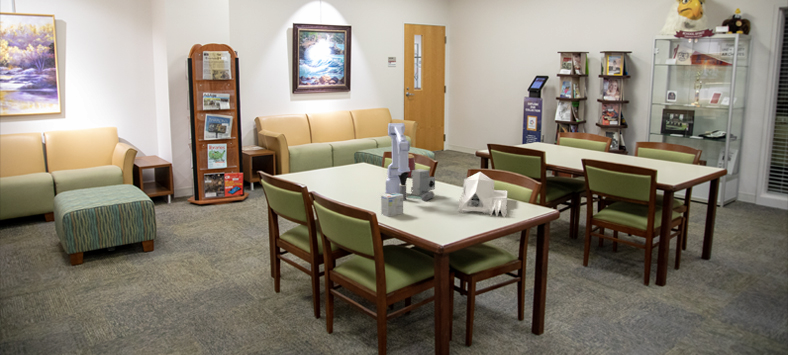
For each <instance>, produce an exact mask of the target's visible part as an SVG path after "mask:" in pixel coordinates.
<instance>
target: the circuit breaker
mask: <svg viewBox="0 0 788 355" xmlns="http://www.w3.org/2000/svg"><path fill="white" fill-rule="evenodd" d="M412 175H413V176H412ZM410 178H412V186H411V187H410V188H411V189H410V192H411V195H412V196H422V195H423V194H425V193H428V192H429V191H433V190H435V189H436V177H435V176H430V170H429V169H428V170H427V169H422V168H418V169H415V170H412V173H411V177H410Z"/></svg>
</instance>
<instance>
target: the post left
mask: <svg viewBox="0 0 788 355" xmlns="http://www.w3.org/2000/svg"><path fill="white" fill-rule="evenodd" d="M399 185H400V194H403V201H405V200H407V183H406V184H405V185H401V184H399Z"/></svg>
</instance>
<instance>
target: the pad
mask: <svg viewBox="0 0 788 355" xmlns="http://www.w3.org/2000/svg"><path fill="white" fill-rule="evenodd" d="M407 198H408V199H409V198H410V199H418V200H420V199H421V200H422V198H421V196H418V195H412V194H411V195H408V196H406V199H407Z"/></svg>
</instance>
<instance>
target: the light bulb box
mask: <svg viewBox="0 0 788 355" xmlns="http://www.w3.org/2000/svg"><path fill="white" fill-rule="evenodd" d="M380 198H381V199H380V200H381V201H380V202H381V204H380V205H381V207H380V210H381V211H380V212H381V213H380V214H381V215H382V214H383V215H382V216H386V217H387V218H389V217H392V216H397V215H402V214H404V200H403V194H399V193H386V194H381V195H380Z"/></svg>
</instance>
